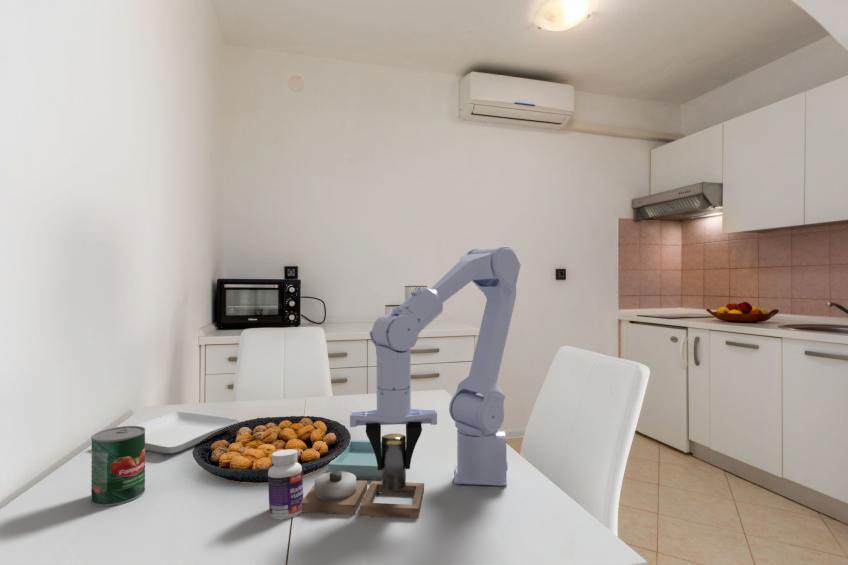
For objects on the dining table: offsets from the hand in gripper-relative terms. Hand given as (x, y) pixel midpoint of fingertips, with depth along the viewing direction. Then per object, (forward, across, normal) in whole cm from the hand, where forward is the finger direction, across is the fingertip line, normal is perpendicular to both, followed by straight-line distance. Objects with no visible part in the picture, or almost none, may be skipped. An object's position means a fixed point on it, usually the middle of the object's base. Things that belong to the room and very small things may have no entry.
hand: (393, 467), depth 79 cm
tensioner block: (+6, +5, -1) cm, 8 cm away
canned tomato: (+6, +48, -7) cm, 48 cm away
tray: (+6, +4, -17) cm, 18 cm away
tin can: (+3, 0, 0) cm, 3 cm away
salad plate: (+6, +51, -37) cm, 63 cm away
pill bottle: (+7, +17, +1) cm, 19 cm away
